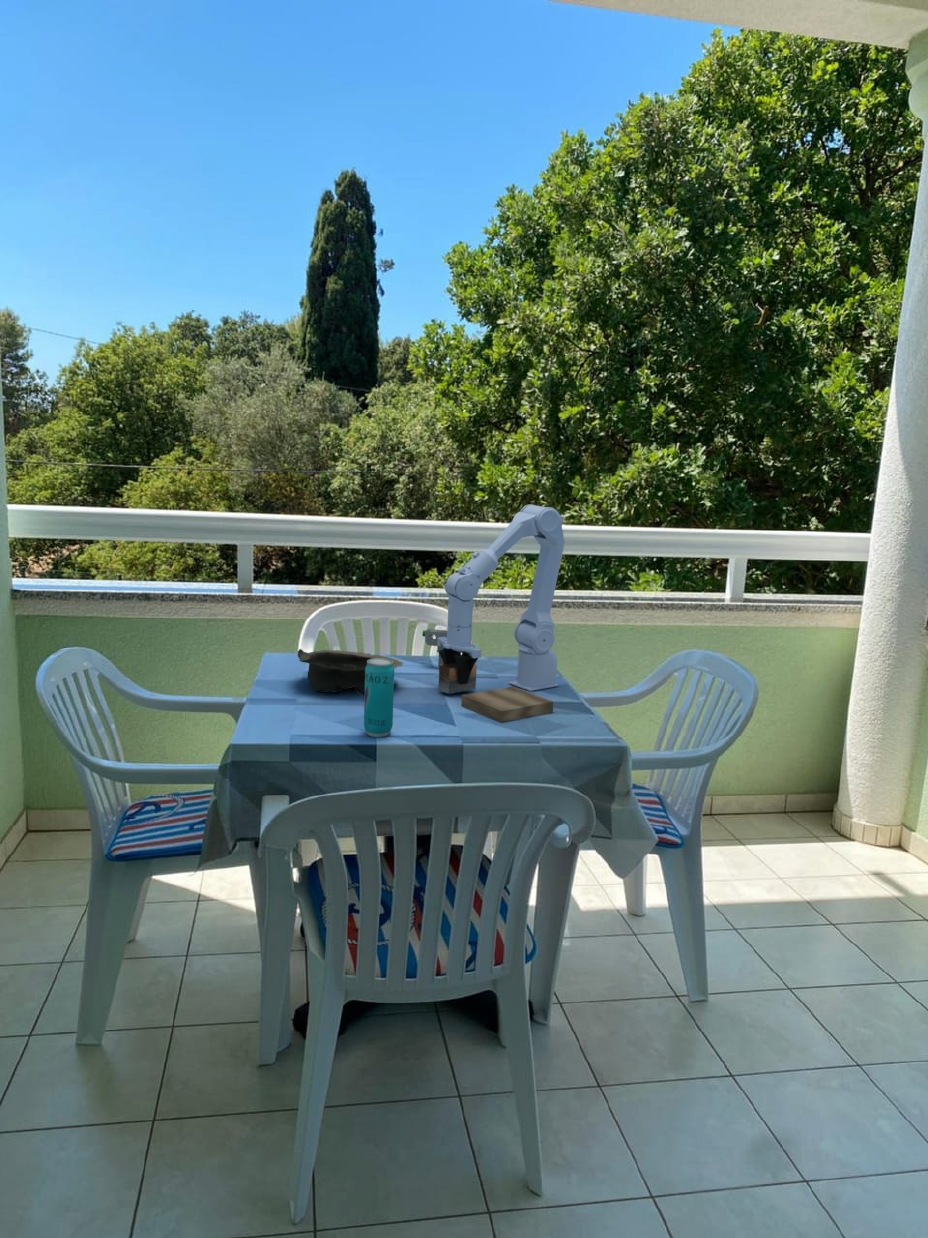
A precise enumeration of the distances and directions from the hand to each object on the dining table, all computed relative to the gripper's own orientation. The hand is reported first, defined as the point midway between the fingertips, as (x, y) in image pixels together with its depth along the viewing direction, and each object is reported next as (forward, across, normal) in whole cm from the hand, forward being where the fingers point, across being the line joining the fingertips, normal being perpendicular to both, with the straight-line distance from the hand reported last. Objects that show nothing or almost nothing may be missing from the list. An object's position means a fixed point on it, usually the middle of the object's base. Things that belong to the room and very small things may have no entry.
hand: (457, 681), depth 214 cm
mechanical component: (+3, -20, +10) cm, 23 cm away
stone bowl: (+3, -17, -19) cm, 26 cm away
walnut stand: (+3, +16, +2) cm, 16 cm away
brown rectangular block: (+2, 0, 0) cm, 2 cm away
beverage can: (+3, +16, -32) cm, 36 cm away
